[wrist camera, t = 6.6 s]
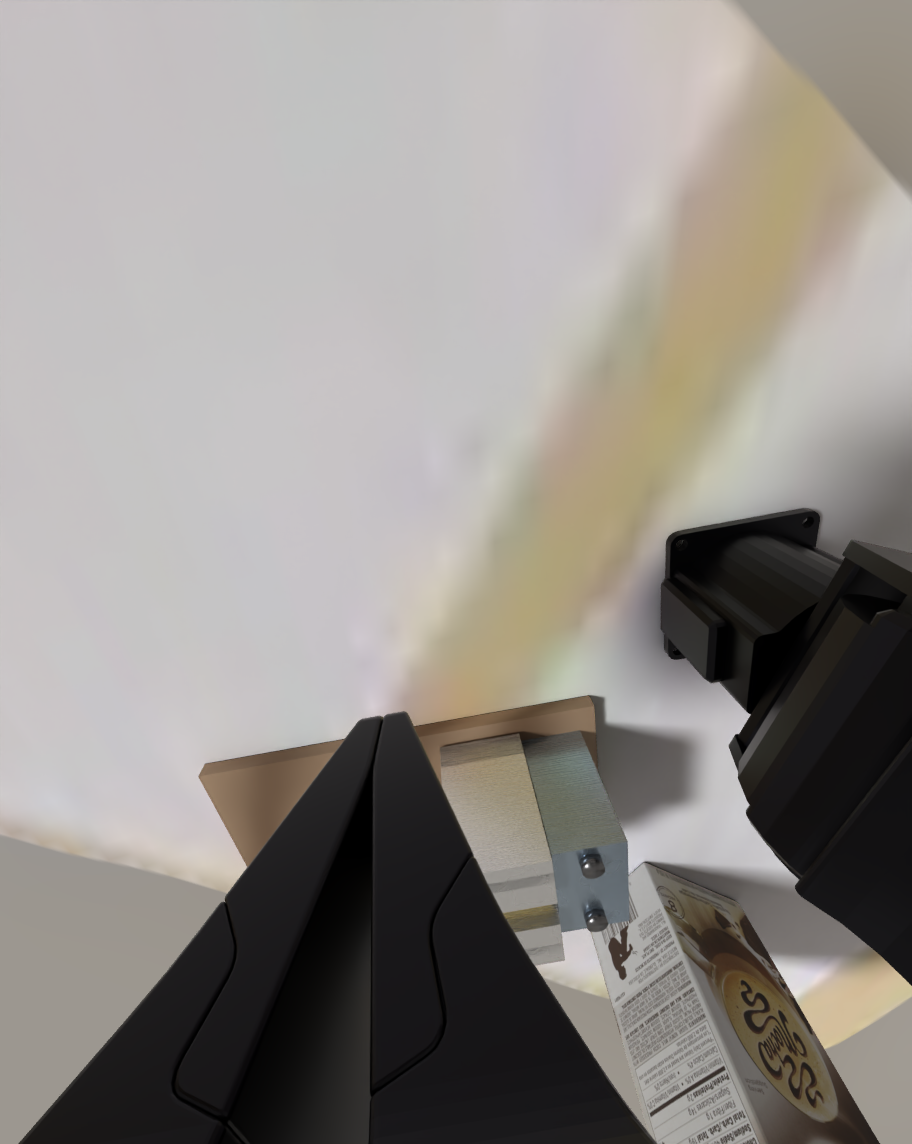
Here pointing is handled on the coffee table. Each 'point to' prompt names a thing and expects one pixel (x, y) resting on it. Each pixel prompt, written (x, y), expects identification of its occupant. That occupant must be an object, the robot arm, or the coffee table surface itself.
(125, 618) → the coffee table surface
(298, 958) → the robot arm
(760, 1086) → the coffee box
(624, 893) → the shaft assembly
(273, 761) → the board
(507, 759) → the grey slotted block
